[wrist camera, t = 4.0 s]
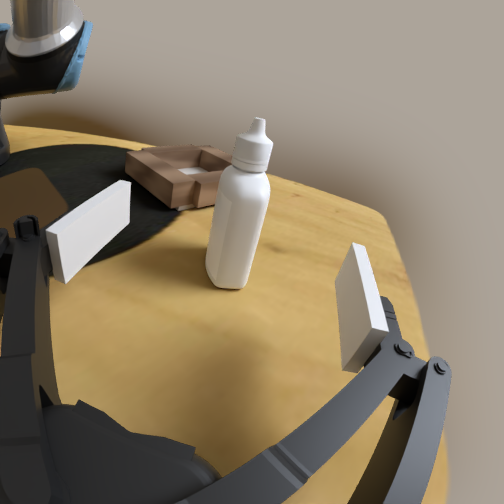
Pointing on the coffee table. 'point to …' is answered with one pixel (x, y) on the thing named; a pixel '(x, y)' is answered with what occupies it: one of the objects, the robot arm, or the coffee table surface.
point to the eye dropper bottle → (239, 209)
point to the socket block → (179, 173)
